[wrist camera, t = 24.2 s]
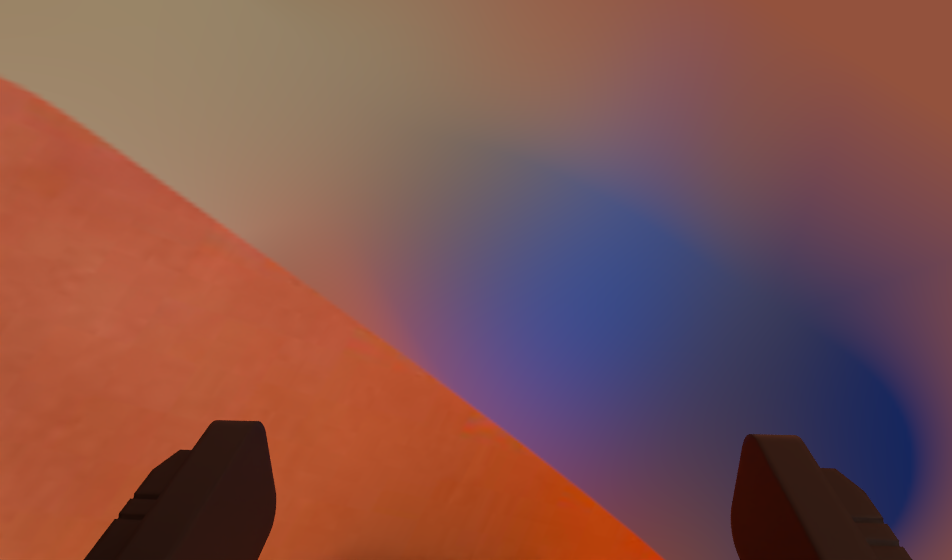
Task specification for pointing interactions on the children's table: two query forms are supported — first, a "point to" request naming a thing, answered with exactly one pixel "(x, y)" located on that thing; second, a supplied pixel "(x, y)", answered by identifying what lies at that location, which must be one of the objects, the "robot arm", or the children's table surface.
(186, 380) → the children's table surface
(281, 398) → the children's table surface
